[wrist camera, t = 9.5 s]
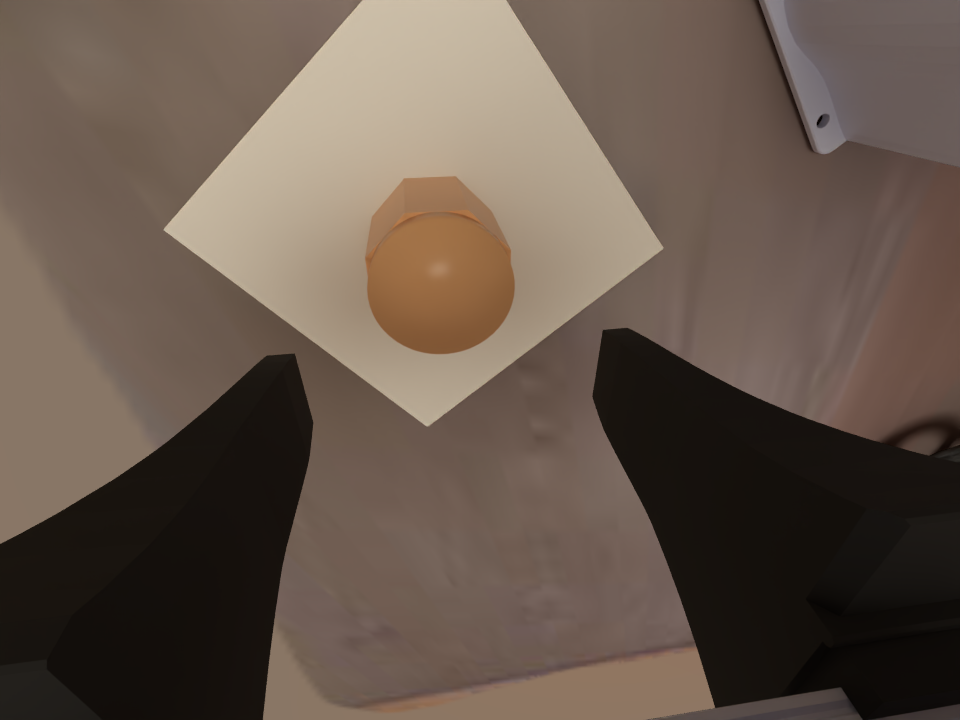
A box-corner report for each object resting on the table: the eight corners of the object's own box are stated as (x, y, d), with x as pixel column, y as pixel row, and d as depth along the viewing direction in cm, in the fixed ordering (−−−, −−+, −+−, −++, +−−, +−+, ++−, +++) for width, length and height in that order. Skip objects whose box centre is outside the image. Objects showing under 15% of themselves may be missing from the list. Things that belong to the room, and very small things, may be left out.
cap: (491, 174, 18) (517, 215, 14) (490, 286, 21) (512, 348, 17) (366, 179, 18) (356, 223, 14) (382, 293, 20) (377, 359, 16)
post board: (653, 240, 22) (709, 286, 18) (426, 414, 25) (431, 483, 22) (443, -88, 15) (458, -133, 11) (173, 221, 18) (111, 271, 15)
